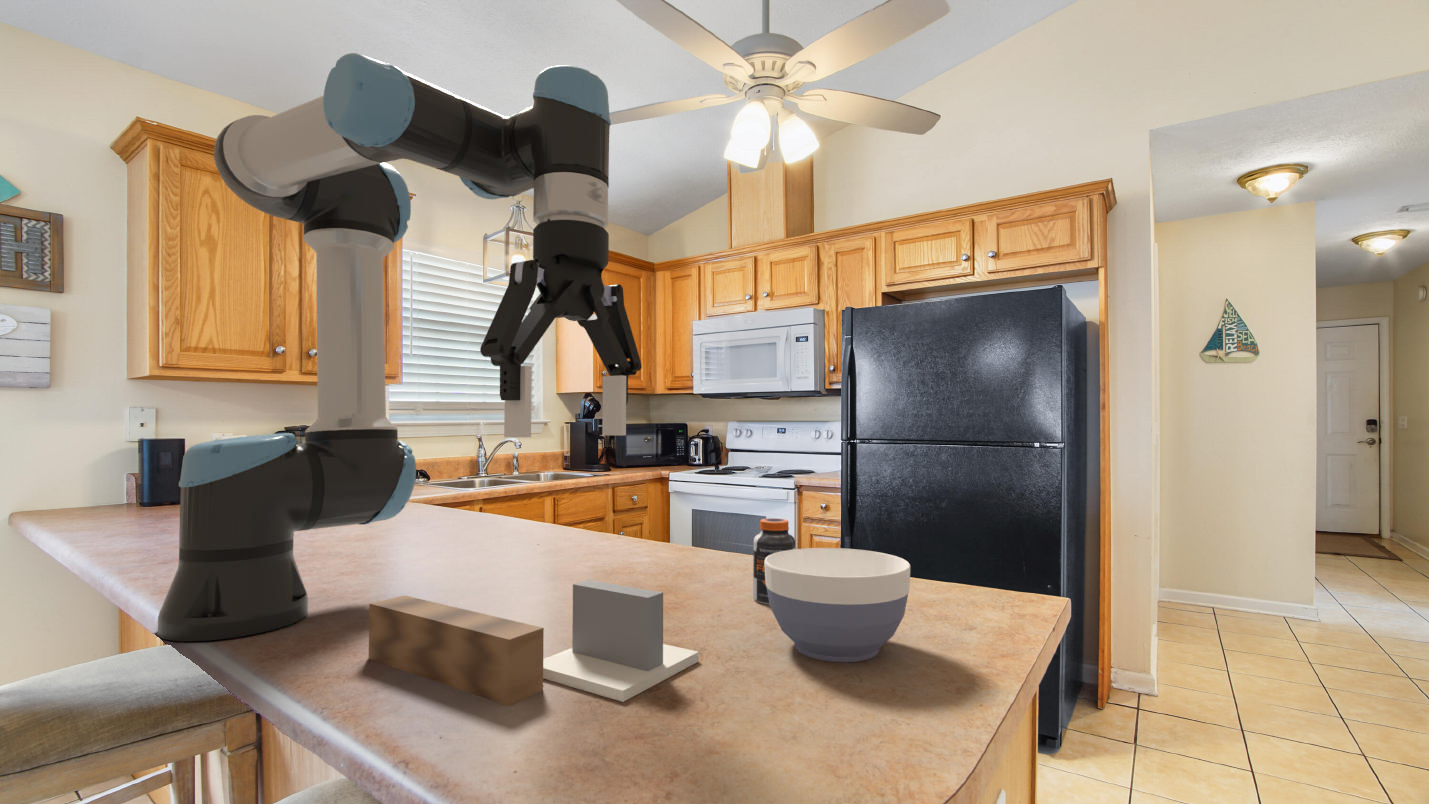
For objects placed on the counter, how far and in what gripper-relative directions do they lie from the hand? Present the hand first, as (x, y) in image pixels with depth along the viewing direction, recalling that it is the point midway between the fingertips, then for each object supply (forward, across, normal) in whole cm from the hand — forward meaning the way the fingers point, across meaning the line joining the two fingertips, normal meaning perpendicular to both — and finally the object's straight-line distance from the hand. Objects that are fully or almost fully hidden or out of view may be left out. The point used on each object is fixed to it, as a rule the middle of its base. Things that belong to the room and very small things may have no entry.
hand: (570, 436), depth 67 cm
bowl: (+24, +21, -20) cm, 37 cm away
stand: (+24, +4, -3) cm, 24 cm away
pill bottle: (+24, +36, -5) cm, 43 cm away
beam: (+24, -6, +10) cm, 26 cm away
